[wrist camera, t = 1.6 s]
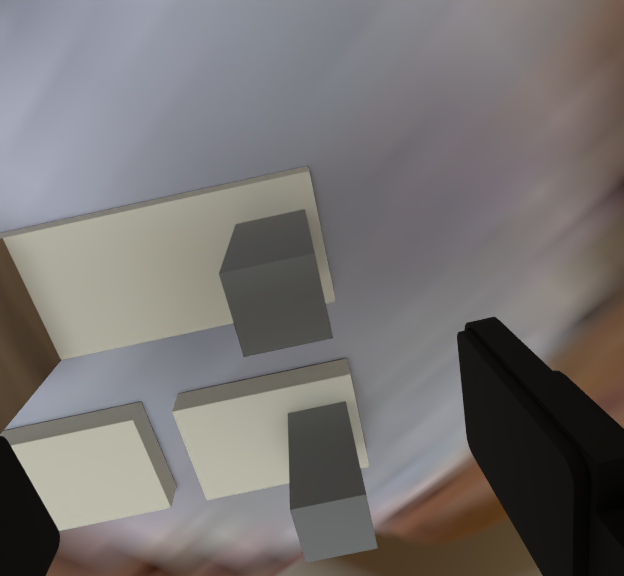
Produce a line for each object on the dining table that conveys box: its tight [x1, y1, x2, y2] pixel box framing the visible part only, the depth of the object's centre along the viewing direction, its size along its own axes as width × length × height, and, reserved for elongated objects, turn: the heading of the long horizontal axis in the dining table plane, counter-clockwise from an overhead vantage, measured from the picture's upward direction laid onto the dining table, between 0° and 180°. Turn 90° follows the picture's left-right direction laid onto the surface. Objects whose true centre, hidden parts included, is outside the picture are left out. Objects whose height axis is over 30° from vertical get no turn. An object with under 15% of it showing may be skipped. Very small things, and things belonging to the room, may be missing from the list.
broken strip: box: [0, 358, 377, 563], centre depth 22 cm, size 20×6×8 cm, turn 102°
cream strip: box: [0, 166, 336, 360], centre depth 19 cm, size 20×6×8 cm, turn 102°
